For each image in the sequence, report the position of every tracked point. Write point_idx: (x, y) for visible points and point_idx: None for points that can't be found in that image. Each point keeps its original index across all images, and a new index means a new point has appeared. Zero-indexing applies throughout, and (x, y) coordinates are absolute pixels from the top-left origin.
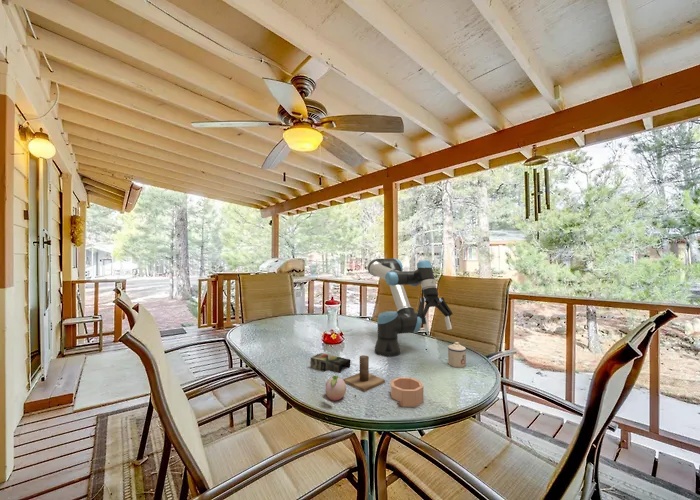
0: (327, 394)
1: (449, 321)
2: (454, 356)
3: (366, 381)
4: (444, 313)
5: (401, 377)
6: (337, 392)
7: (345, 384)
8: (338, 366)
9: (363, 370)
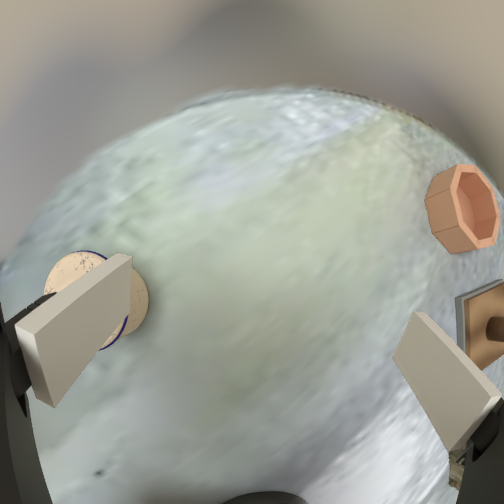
0: None
1: (77, 289)
2: (133, 286)
3: (493, 315)
4: (23, 424)
5: (473, 242)
6: None
7: None
8: None
9: None
